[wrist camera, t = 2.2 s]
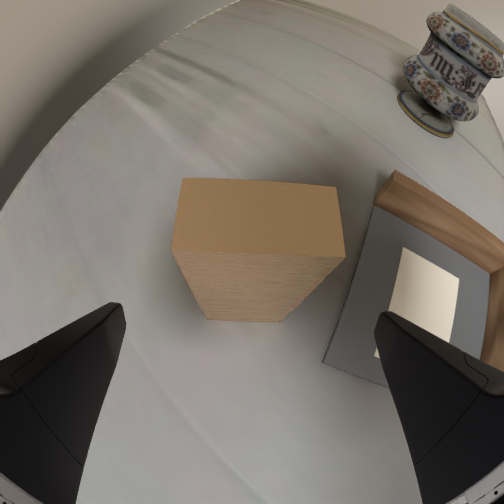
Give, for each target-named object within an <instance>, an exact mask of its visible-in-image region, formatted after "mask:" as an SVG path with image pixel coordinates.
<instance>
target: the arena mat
mask: <svg viewBox="0 0 504 504" xmlns="http://www.w3.org/2000/svg"><path fill="white" fill-rule="evenodd" d="M489 282H490V274H489V273H487V272H486V271H484V270H483V269H481V268H480V267H479V266H477V265H476V264H474V263H473V262H471V261H470V260H468V259H467V258H465V257H464V256H462V255H460V254H459V253H457V252H456V251H454V250H453V249H451V248H449V247H448V246H446V245H445V244H443V243H441V242H440V241H438V240H436V239H435V238H433V237H431V236H430V235H428V234H426V233H425V232H423V231H421V230H419V229H418V228H416V227H414V226H412V225H411V224H409V223H407V222H405V221H404V220H402V219H400V218H398V217H396V216H394V215H393V214H391V213H389V212H387V211H385V210H383V209H381V208H379V207H377V206H376V205H374V207H373V209H372V213H371V217H370V221H369V225H368V229H367V232H366V236H365V239H364V243H363V246H362V250H361V253H360V257H359V260H358V263H357V267H356V270H355V273H354V276H353V279H352V282H351V285H350V288H349V291H348V294H347V297H346V300H345V303H344V306H343V309H342V312H341V314H340V317H339V320H338V322H337V325H336V328H335V330H334V333H333V336H332V338H331V341H330V343H329V346H328V348H327V351H326V353H325V356H324V358H323V361H322V363H324V364H326V365H329V366H332V367H334V368H337V369H339V370H342V371H344V372H347V373H350V374H352V375H355V376H358V377H360V378H363V379H366V380H369V381H372V382H374V383H377V384H380V385H383V386H386V387H389V386H388V383H387V380H386V377H385V374H384V371H383V368H382V365H381V361H380V357H379V353H378V349H377V346H376V342H375V338H374V329H375V326H376V323H377V320H378V317H379V315H380V313H381V312H384V311H392V312H394V313H396V314H397V315H399V316H401V317H403V318H405V319H407V320H408V321H410V322H412V323H414V324H416V325H418V326H419V327H421V328H423V329H425V330H427V331H428V332H430V333H432V334H434V335H436V336H437V337H439V338H441V339H443V340H445V341H446V342H448V343H450V344H452V345H453V346H455V347H457V348H459V349H461V350H462V352H463V351H464V352H466V353H468V354H470V355H471V356H473V357H475V358H477V359H479V360H480V356H481V351H482V345H483V339H484V333H485V326H486V318H487V309H488V297H489Z"/></svg>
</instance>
